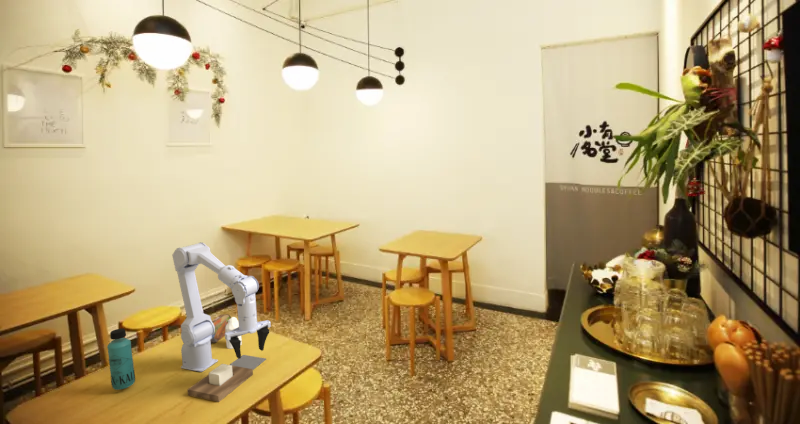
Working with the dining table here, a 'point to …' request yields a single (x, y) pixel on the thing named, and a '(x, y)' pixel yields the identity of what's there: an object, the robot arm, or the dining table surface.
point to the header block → (219, 392)
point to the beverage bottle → (120, 360)
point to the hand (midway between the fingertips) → (250, 353)
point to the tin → (220, 327)
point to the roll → (230, 326)
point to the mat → (248, 362)
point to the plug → (220, 374)
